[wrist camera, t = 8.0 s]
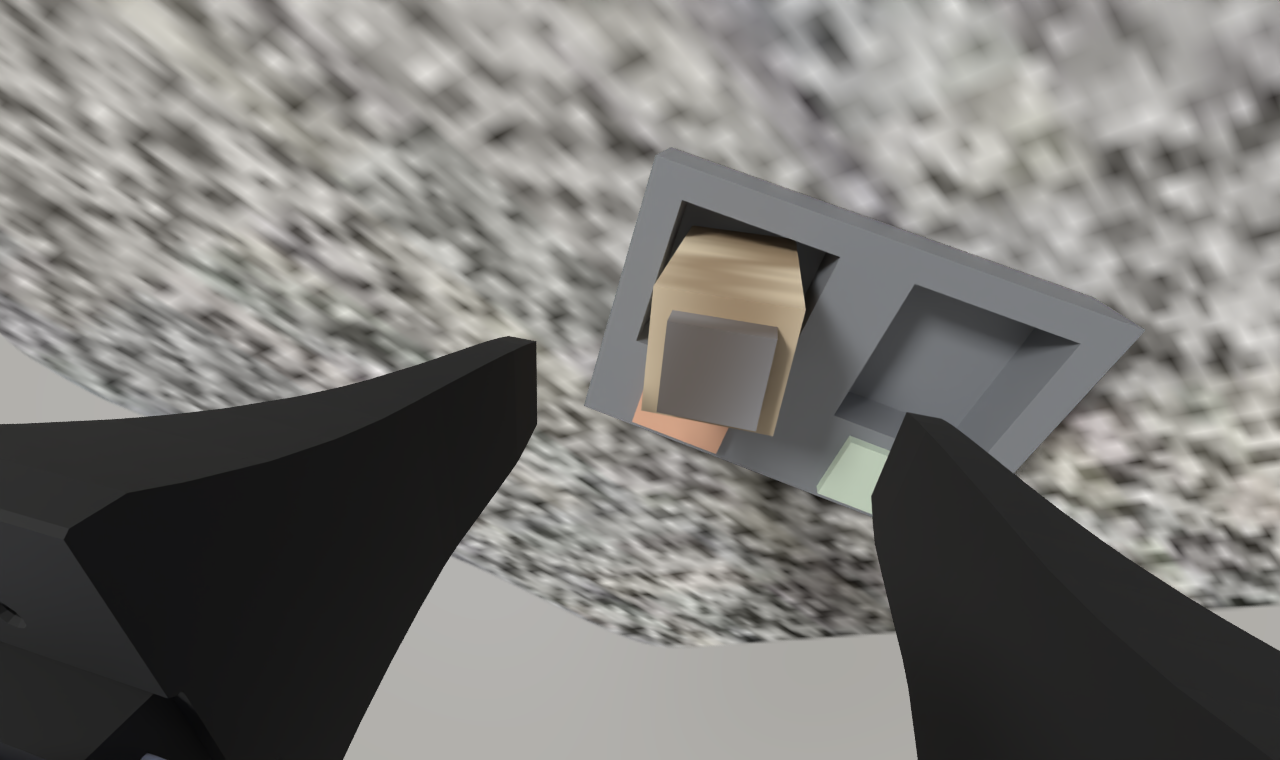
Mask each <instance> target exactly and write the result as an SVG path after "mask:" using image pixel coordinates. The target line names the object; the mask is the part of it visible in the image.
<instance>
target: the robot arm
mask: <svg viewBox="0 0 1280 760" xmlns="http://www.w3.org/2000/svg"><path fill="white" fill-rule="evenodd" d="M536 425H537V369H536V341H531V340H526V339H521V338H516V337H510V336H507V337H502V338H497V339H494V340H490V341H487V342H484V343H481V344H478V345H475V346H472V347H469V348H466V349H463V350H460V351H457V352H454V353H451V354H448V355H445V356H442V357H439V358H437V359H434V360H431V361H428V362H425V363H422V364H419V365H416V366H412V367H409V368H406V369H402V370H399V371H396V372H393V373H389V374H386V375H383V376H380V377H376V378H373V379H370V380H366V381H362V382H359V383H355V384H351V385H347V386H343V387H339V388H334V389H330V390H325V391H321V392H316V393H312V394H307V395H302V396H297V397H292V398H286V399H280V400H274V401H268V402H262V403H255V404H249V405H243V406H237V407H231V408H224V409H216V410H208V411H199V412H191V413H182V414H171V415H161V416H150V417H139V418H125V419H112V420H92V421H71V422H51V423H29V424H0V760H343V758H344V756H345V754H346V752H347V750H348V748H349V746H350V743H351V741H352V739H353V737H354V735H355V733H356V731H357V729H358V727H359V724H360V722H361V720H362V718H363V716H364V714H365V712H366V710H367V708H368V706H369V705H370V702H371V700H372V699H373V697H374V695H375V692H376V691H377V689H378V687H379V685H380V683H381V681H382V679H383V676H384V675H385V673H386V671H387V669H388V667H389V665H390V663H391V661H392V659H393V657H394V655H395V654H396V652H397V650H398V648H399V646H400V644H401V642H402V641H403V639H404V637H405V635H406V633H407V631H408V629H409V627H410V626H411V624H412V622H413V620H414V618H415V616H416V615H417V613H418V611H419V609H420V607H421V606H422V603H423V602H424V600H425V599H426V597H427V595H428V593H429V592H430V590H431V588H432V586H433V585H434V583H435V581H436V579H437V578H438V576H439V574H440V572H441V571H442V569H443V567H444V566H445V564H446V562H447V561H448V559H449V558H450V556H451V555H452V553H453V552H454V550H455V549H456V547H457V546H458V544H459V543H460V541H461V540H462V539H463V537H464V536H465V535H466V533H467V532H468V530H469V529H470V528H471V526H472V525H473V524H474V522H475V521H476V519H477V518H478V517H479V515H480V514H481V512H482V511H483V510H484V508H485V507H486V506H487V504H488V503H489V501H490V500H491V499H492V497H493V496H494V495H495V493H496V492H497V490H498V489H499V488H500V486H501V485H502V483H503V482H504V481H505V479H506V478H507V476H508V475H509V474H510V472H511V471H512V469H513V468H514V466H515V465H516V463H517V462H518V460H519V458H520V457H521V455H522V453H523V451H524V449H525V447H526V445H527V443H528V441H529V439H530V437H531V435H532V433H533V431H534V429H535V427H536ZM871 503H872V518H873V529H874V539H875V546H876V551H877V555H878V559H879V564H880V568H881V572H882V576H883V581H884V585H885V589H886V593H887V597H888V601H889V605H890V609H891V614H892V618H893V622H894V626H895V630H896V634H897V638H898V642H899V646H900V650H901V655H902V659H903V663H904V668H905V673H906V679H907V683H908V688H909V696H910V703H911V711H912V719H913V726H914V734H915V741H916V749H917V757H918V760H1280V651H1279V650H1277V649H1275V648H1273V647H1272V646H1270V645H1268V644H1266V643H1265V642H1263V641H1261V640H1259V639H1258V638H1256V637H1254V636H1252V635H1250V634H1249V633H1247V632H1246V631H1244V630H1242V629H1240V628H1239V627H1237V626H1235V625H1233V624H1232V623H1230V622H1228V621H1226V620H1225V619H1223V618H1221V617H1220V616H1218V615H1216V614H1215V613H1213V612H1211V611H1210V610H1208V609H1206V608H1205V607H1203V606H1201V605H1200V604H1198V603H1196V602H1195V601H1193V600H1191V599H1190V598H1188V597H1187V596H1185V595H1183V594H1182V593H1180V592H1179V591H1177V590H1176V589H1174V588H1173V587H1171V586H1169V585H1168V584H1166V583H1165V582H1163V581H1162V580H1160V579H1159V578H1157V577H1156V576H1154V575H1152V574H1151V573H1149V572H1148V571H1146V570H1145V569H1143V568H1142V567H1140V566H1139V565H1137V564H1135V563H1134V562H1132V561H1131V560H1129V559H1128V558H1126V557H1125V556H1123V555H1122V554H1120V553H1119V552H1118V551H1116V550H1115V549H1113V548H1112V547H1110V546H1109V545H1107V544H1106V543H1105V542H1103V541H1102V540H1100V539H1099V538H1098V537H1096V536H1095V535H1093V534H1092V533H1091V532H1089V531H1088V530H1087V529H1085V528H1084V527H1083V526H1081V525H1080V524H1078V523H1077V522H1076V521H1074V520H1073V519H1072V518H1070V517H1069V516H1067V515H1066V514H1065V513H1063V512H1062V511H1061V510H1059V509H1058V508H1057V507H1056V506H1054V505H1053V504H1052V503H1050V502H1049V501H1048V500H1046V499H1045V498H1044V497H1042V496H1041V495H1040V494H1039V493H1037V492H1036V491H1035V490H1034V489H1032V488H1031V487H1030V486H1028V485H1027V484H1026V483H1025V482H1023V481H1022V480H1021V479H1020V478H1018V477H1017V476H1016V475H1015V474H1013V473H1012V472H1011V471H1010V470H1009V469H1007V468H1006V467H1005V466H1004V465H1002V464H1001V463H1000V462H999V461H997V460H996V459H995V458H994V457H992V456H991V455H990V454H989V453H988V452H986V451H985V450H984V449H983V448H981V447H980V446H979V445H978V444H976V443H975V442H974V441H973V440H971V439H970V438H969V437H967V436H966V435H965V434H964V433H962V432H961V431H960V430H958V429H957V428H955V427H954V426H953V425H951V424H950V423H948V422H947V421H945V420H943V419H941V418H936V417H930V416H925V415H920V414H915V413H909V412H906V414H905V417H904V419H903V422H902V424H901V426H900V429H899V431H898V433H897V436H896V438H895V441H894V443H893V445H892V448H891V450H890V452H889V455H888V457H887V460H886V462H885V464H884V467H883V469H882V471H881V474H880V476H879V479H878V481H877V483H876V486H875V488H874V490H873V493H872V495H871Z"/></svg>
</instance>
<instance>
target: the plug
mask: <svg viewBox="0 0 1280 760" xmlns="http://www.w3.org/2000/svg"><path fill="white" fill-rule="evenodd" d="M805 311H806V308H805V301H804V295H803V288H802V281H801V274H800V267H799V260H798V253H797V246H796V241H794V240H792V239H789V238H782V237H774V236H767V235H760V234H752V233H745V232H738V231H730V230H723V229H715V228H708V227H701V226H693V225H692V227H691V229H690V230H689V232H688V233H687V235H686V236H685V238H684V239H683V241H682V243H681V244H680V246H679V247H678V249H677V250H676V252H675V253H674V255H673V257H672V258H671V260H670V261H669V263H668V264H667V266H666V267H665V269H664V270H663V272H662V274H661V275H660V277H659V278H658V280H657V281H656V283H655V284H654V286H653V296H652V306H651V316H650V326H649V337H648V347H647V357H646V367H645V377H644V387H643V397H642V408H641V411H647V412H652V413H657V414H662V415H667V416H672V417H677V418H682V419H687V420H693V421H698V422H703V423H708V424H713V425H718V426H723V427H728V428H734V429H739V430H744V431H749V432H754V433H759V434H764V435H769V436H773V434H774V430H775V427H776V423H777V419H778V415H779V411H780V407H781V403H782V399H783V396H784V392H785V388H786V384H787V380H788V376H789V372H790V369H791V365H792V361H793V357H794V353H795V349H796V345H797V341H798V338H799V334H800V330H801V326H802V322H803V318H804V314H805Z"/></svg>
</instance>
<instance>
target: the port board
mask: <svg viewBox="0 0 1280 760" xmlns="http://www.w3.org/2000/svg"><path fill="white" fill-rule="evenodd" d="M692 225H693V226H701V227H708V228H715V229H723V230H730V231H738V232H745V233H752V234H760V235H767V236H774V237H782V238H789V239H792V240H794V241H796V246H797V253H798V260H799V267H800V274H801V281H802V288H803V295H804V301H805V308H806V311H805V314H804V318H803V322H802V326H801V330H800V334H799V338H798V341H797V345H796V349H795V353H794V357H793V361H792V365H791V369H790V372H789V376H788V380H787V384H786V388H785V392H784V396H783V399H782V403H781V407H780V411H779V415H778V419H777V423H776V427H775V430H774V434H773V436H769V435H764V434H759V433H754V432H749V431H744V430H739V429H734V428H728V427H723V426H718V425H713V424H708V423H703V422H698V421H693V420H687V419H682V418H677V417H672V416H667V415H662V414H657V413H652V412H647V411H641V408H642V397H643V387H644V377H645V367H646V357H647V347H648V337H649V326H650V316H651V306H652V296H653V286H654V284H655V283H656V281H657V280H658V278H659V277H660V275H661V274H662V272H663V270H664V269H665V267H666V266H667V264H668V263H669V261H670V260H671V258H672V257H673V255H674V253H675V252H676V250H677V249H678V247H679V246H680V244H681V243H682V241H683V239H684V238H685V236H686V235H687V233H688V232H689V230H690V229H691V227H692ZM1144 331H1145V329H1143V328H1142V327H1140V326H1138V325H1137V324H1135V323H1134V322H1132V321H1131V320H1129V319H1127V318H1126V317H1124V316H1123V315H1121V314H1119V313H1118V312H1116V311H1115V310H1113V309H1111V308H1110V307H1108V306H1107V305H1105V304H1103V303H1102V302H1100V301H1099V300H1097V299H1096V298H1094V297H1091V296H1088V295H1085V294H1083V293H1080V292H1077V291H1074V290H1071V289H1069V288H1066V287H1063V286H1060V285H1057V284H1055V283H1052V282H1049V281H1046V280H1043V279H1040V278H1038V277H1035V276H1032V275H1029V274H1026V273H1024V272H1021V271H1018V270H1015V269H1012V268H1010V267H1007V266H1004V265H1001V264H998V263H995V262H993V261H990V260H987V259H984V258H981V257H979V256H976V255H973V254H970V253H967V252H965V251H962V250H959V249H956V248H953V247H951V246H948V245H945V244H942V243H939V242H936V241H934V240H931V239H928V238H925V237H922V236H920V235H917V234H914V233H911V232H908V231H906V230H903V229H900V228H897V227H894V226H891V225H889V224H886V223H883V222H880V221H877V220H875V219H872V218H869V217H866V216H863V215H861V214H858V213H855V212H852V211H849V210H847V209H844V208H841V207H838V206H835V205H832V204H830V203H827V202H824V201H821V200H818V199H816V198H813V197H810V196H807V195H804V194H802V193H799V192H796V191H793V190H790V189H787V188H785V187H782V186H779V185H776V184H773V183H771V182H768V181H765V180H762V179H759V178H757V177H754V176H751V175H748V174H745V173H743V172H740V171H737V170H734V169H731V168H728V167H726V166H723V165H720V164H717V163H714V162H712V161H709V160H706V159H703V158H700V157H698V156H695V155H692V154H689V153H686V152H684V151H681V150H678V149H675V148H672V147H671V148H669V149H667V150H665V151H663V152H661V153H659V154H657V155H656V156H655V159H654V163H653V166H652V170H651V173H650V177H649V180H648V184H647V187H646V191H645V194H644V198H643V201H642V205H641V208H640V211H639V215H638V218H637V222H636V225H635V229H634V232H633V236H632V239H631V243H630V246H629V250H628V253H627V257H626V260H625V264H624V267H623V271H622V274H621V278H620V281H619V285H618V288H617V292H616V295H615V299H614V302H613V306H612V309H611V313H610V316H609V320H608V323H607V327H606V330H605V334H604V337H603V341H602V344H601V348H600V351H599V355H598V358H597V362H596V365H595V369H594V372H593V376H592V379H591V383H590V386H589V390H588V393H587V397H586V400H585V404H584V406H586V407H588V408H591V409H594V410H596V411H599V412H601V413H604V414H607V415H609V416H612V417H614V418H617V419H620V420H622V421H625V422H627V423H630V424H632V425H635V426H638V427H640V428H643V429H645V430H648V431H651V432H653V433H656V434H658V435H661V436H664V437H666V438H669V439H671V440H674V441H677V442H679V443H682V444H684V445H687V446H689V447H692V448H695V449H697V450H700V451H702V452H705V453H708V454H710V455H713V456H715V457H718V458H721V459H723V460H726V461H728V462H731V463H734V464H736V465H739V466H741V467H744V468H746V469H749V470H752V471H754V472H757V473H759V474H762V475H765V476H767V477H770V478H772V479H775V480H778V481H780V482H783V483H785V484H788V485H791V486H793V487H796V488H798V489H801V490H803V491H806V492H809V493H811V494H814V495H816V496H819V497H822V498H824V499H827V500H829V501H832V502H835V503H837V504H840V505H842V506H845V507H848V508H850V509H853V510H855V511H858V512H860V513H863V514H866V515H868V516H871V517H872V503H871V495H872V493H873V490H874V488H875V486H876V483H877V481H878V479H879V476H880V474H881V471H882V469H883V467H884V464H885V462H886V460H887V457H888V455H889V452H890V450H891V448H892V445H893V443H894V441H895V438H896V436H897V433H898V431H899V429H900V426H901V424H902V422H903V419H904V417H905V414H906V412H909V413H915V414H920V415H925V416H930V417H936V418H941V419H943V420H945V421H947V422H948V423H950V424H951V425H953V426H954V427H955V428H957V429H958V430H960V431H961V432H962V433H964V434H965V435H966V436H967V437H969V438H970V439H971V440H973V441H974V442H975V443H976V444H978V445H979V446H980V447H981V448H983V449H984V450H985V451H986V452H988V453H989V454H990V455H991V456H992V457H994V458H995V459H996V460H997V461H999V462H1000V463H1001V464H1002V465H1004V466H1005V467H1006V468H1007V469H1009V470H1010V471H1011V472H1012V473H1013V474H1014V472H1015V471H1016V470H1017V469H1018V468H1019V467H1020V466H1021V465H1022V464H1023V463H1024V462H1025V460H1026V459H1027V458H1028V457H1029V456H1030V455H1031V454H1032V453H1033V452H1034V451H1035V450H1036V448H1037V447H1038V446H1039V445H1040V444H1041V443H1042V442H1043V441H1044V440H1045V439H1046V438H1047V437H1048V435H1049V434H1050V433H1051V432H1052V431H1053V430H1054V429H1055V428H1056V427H1057V426H1058V425H1059V423H1060V422H1061V421H1062V420H1063V419H1064V418H1065V417H1066V416H1067V415H1068V414H1069V413H1070V411H1071V410H1072V409H1073V408H1074V407H1075V406H1076V405H1077V404H1078V403H1079V402H1080V401H1081V400H1082V398H1083V397H1084V396H1085V395H1086V394H1087V393H1088V392H1089V391H1090V390H1091V389H1092V388H1093V386H1094V385H1095V384H1096V383H1097V382H1098V381H1099V380H1100V379H1101V378H1102V377H1103V376H1104V375H1105V373H1106V372H1107V371H1108V370H1109V369H1110V368H1111V367H1112V366H1113V365H1114V364H1115V363H1116V361H1117V360H1118V359H1119V358H1120V357H1121V356H1122V355H1123V354H1124V353H1125V352H1126V351H1127V349H1128V348H1129V347H1130V346H1131V345H1132V344H1133V343H1134V342H1135V341H1136V340H1137V339H1138V338H1139V336H1140V335H1141V334H1142V333H1143V332H1144Z"/></svg>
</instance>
